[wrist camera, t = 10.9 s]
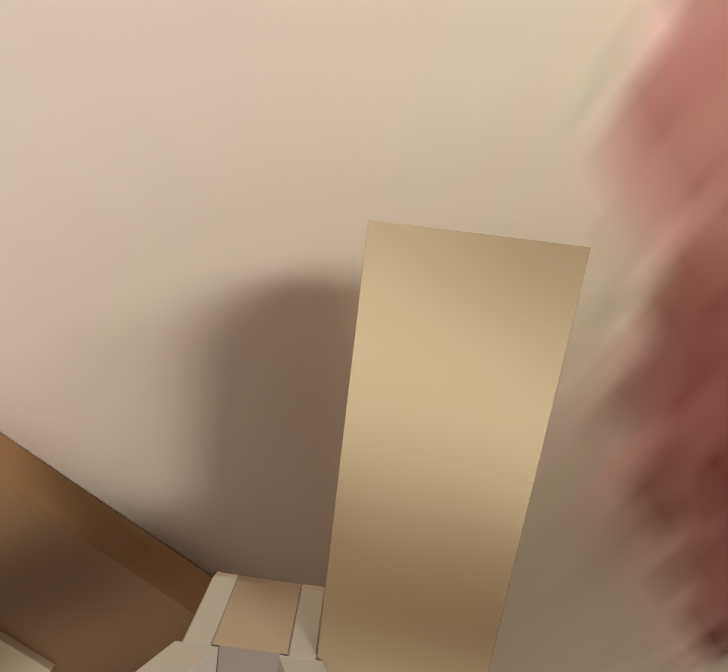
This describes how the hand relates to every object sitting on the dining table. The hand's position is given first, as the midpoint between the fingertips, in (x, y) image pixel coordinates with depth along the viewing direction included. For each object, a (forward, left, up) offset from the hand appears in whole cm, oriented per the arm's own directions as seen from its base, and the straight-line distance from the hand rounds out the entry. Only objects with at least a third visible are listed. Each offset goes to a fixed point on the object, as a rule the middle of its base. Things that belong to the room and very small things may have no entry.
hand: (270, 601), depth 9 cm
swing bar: (-5, +3, -2) cm, 7 cm away
